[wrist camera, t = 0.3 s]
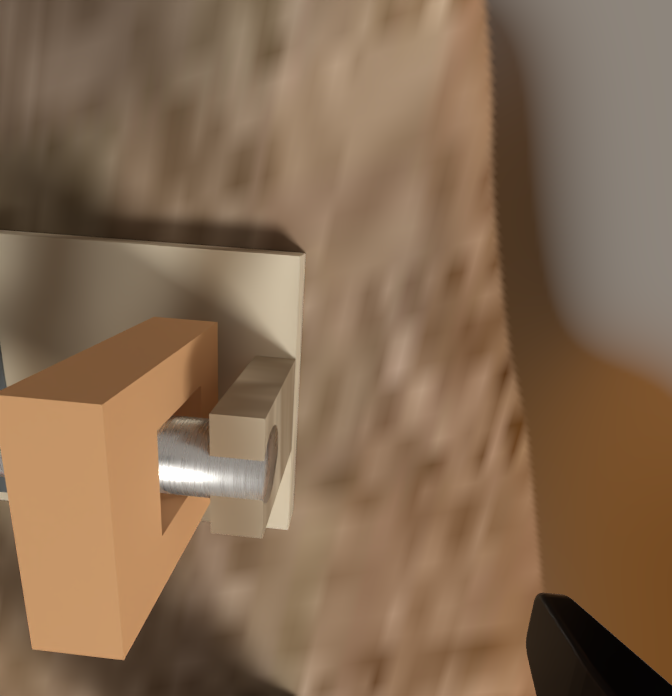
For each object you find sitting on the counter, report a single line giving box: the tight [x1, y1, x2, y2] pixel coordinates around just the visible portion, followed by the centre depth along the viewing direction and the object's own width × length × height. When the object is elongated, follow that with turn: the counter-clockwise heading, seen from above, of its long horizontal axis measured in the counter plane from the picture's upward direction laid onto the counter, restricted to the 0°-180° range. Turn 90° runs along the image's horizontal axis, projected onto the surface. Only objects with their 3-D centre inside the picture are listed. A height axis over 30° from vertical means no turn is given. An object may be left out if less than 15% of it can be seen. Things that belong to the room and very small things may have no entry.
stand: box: [0, 230, 306, 539], centre depth 17 cm, size 20×12×7 cm, turn 86°
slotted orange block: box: [0, 317, 218, 660], centre depth 14 cm, size 2×7×8 cm, turn 176°
